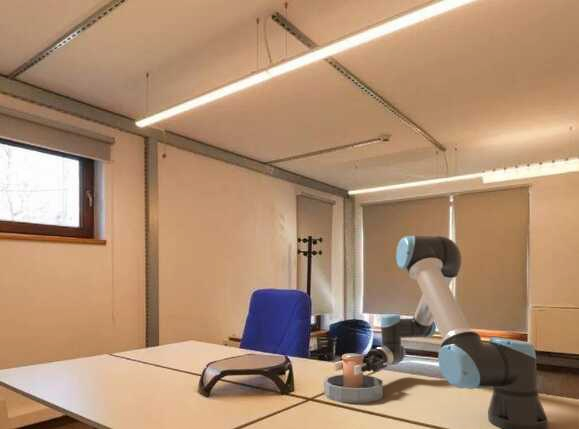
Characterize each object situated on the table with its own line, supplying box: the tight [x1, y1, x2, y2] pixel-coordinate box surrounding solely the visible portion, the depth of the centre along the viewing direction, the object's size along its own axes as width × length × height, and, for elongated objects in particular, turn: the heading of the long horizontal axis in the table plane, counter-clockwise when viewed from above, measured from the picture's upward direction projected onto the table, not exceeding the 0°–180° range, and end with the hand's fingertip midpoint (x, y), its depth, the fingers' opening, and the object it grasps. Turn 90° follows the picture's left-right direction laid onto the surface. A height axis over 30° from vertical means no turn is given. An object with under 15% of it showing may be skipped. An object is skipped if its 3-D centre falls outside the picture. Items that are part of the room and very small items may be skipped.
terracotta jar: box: [341, 352, 364, 388], centre depth 150 cm, size 8×8×12 cm
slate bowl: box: [323, 373, 384, 404], centre depth 149 cm, size 20×20×4 cm
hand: (344, 368), depth 147 cm, fingers open, 7 cm apart
